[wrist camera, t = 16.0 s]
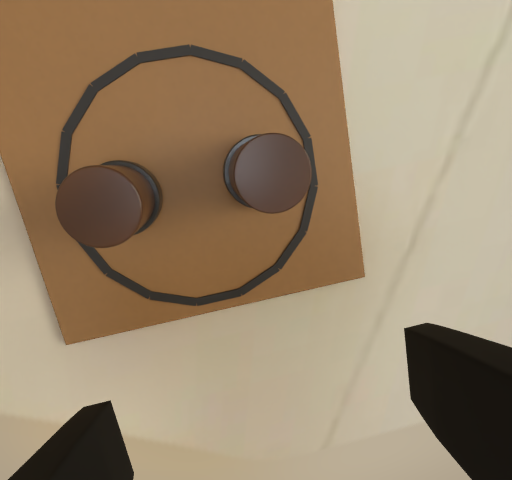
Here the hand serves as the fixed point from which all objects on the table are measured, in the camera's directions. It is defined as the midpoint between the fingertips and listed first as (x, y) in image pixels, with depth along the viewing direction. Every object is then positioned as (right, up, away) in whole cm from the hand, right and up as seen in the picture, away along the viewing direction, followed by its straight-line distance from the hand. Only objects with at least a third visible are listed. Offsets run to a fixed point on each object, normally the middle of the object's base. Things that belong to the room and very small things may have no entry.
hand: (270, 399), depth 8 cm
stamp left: (-6, +6, +7) cm, 11 cm away
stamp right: (0, +7, +8) cm, 10 cm away
